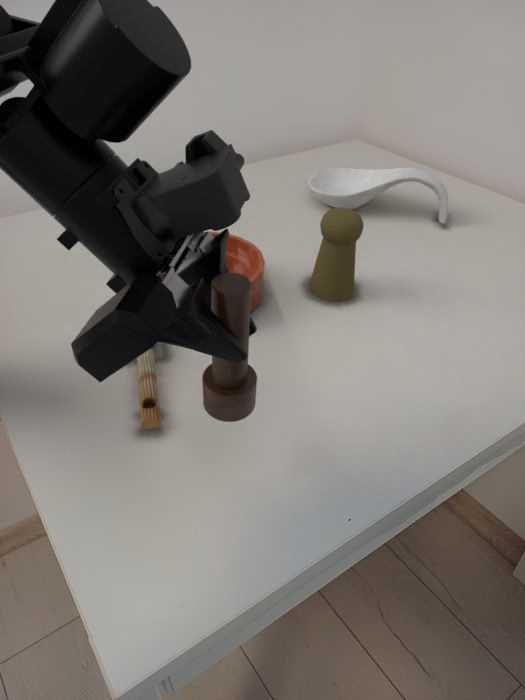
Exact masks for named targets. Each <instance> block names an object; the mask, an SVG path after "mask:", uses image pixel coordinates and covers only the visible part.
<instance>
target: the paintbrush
mask: <svg viewBox="0 0 525 700" xmlns="http://www.w3.org/2000/svg"><path fill="white" fill-rule="evenodd" d="M164 357H165V356H164V349H163V343H161V342H157V343H156V344H155V345H154V346H153V347H152V348H151V349H149V350H148V351H146V352H145V353H143V354H142V355H140V356H139V357H137V358H136V359H134V360H133V361H132V362H137V380H138V395H139V396H138V398H139V413H140V414H139V415H140V416H139V417H140V426H141V428H142V429H144V430H147V431H151V430H156V429H157V428H160V426H161V424H162V418H161V410H160V401H159V399H160V398H159V389H158V379H157V368H156V359H163V358H164Z"/></svg>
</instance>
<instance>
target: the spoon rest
mask: <svg viewBox="0 0 525 700" xmlns="http://www.w3.org/2000/svg"><path fill="white" fill-rule="evenodd" d="M408 182H414V183H419V184H422V185H424V186H426V187H427V188H429V189H431V191H432V192H433V193H434V194H435V195H436V197H437V199H438V202H439V203H438V204H439V209H438V223H440V224H441V225H444V224H446V223H447V219H448V213H449V210H448V209H449V193H448V191H447V188H446V186H445V184H444V183H443V182H442V181H441V180H440V179H439V178H438V177H437V176H436V175H433V174H432V173H430V172H428V171H427V170H424V169H423V170H422V169H419V168H415V167H394V168H378V169H377V168H355V167H354V168H352V167H336V168H335V167H333V168H328V169H324V170H323V169H322V170H320V171H317V172H315V173H313V174H312V175H311V177H309V179H308V183H307V184H308V185H307V186H308V187H309V189H310V192H311V193H312V195H313V196H314V197H315V198H316V199H317V200H319V202H321V203H322V204H325V205H327V206H329V207H331V208H332V209H335V208H346V209H350V210H353V211H354V210H356V209H358V208H360V207H362V206H363V205H365V204H367V203H368V202H370V201H371V200H373V199H374V198H376V197H377V196H379V195H380V194H382V193H383V192H385V191H387V190H389V189H391V188H392V187H395V186H397V185H399V184H402V183H408Z"/></svg>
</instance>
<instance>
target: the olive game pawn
mask: <svg viewBox="0 0 525 700" xmlns="http://www.w3.org/2000/svg"><path fill="white" fill-rule="evenodd" d="M319 225H320V234H321V236H322V239H321V243H320V246H319V250H318V253H317V255H316V256H317V257H316V259H315V263H314V267H313V270H312V274H311V277H310V281H309V284H308V290H309V292H310V293H311V294H312V295H313V297H315V298H316V299H319V300H321V301H324V302H329V303H340V302H345V301H348V300H350V299H351V298H352V297H353V295H354V293H355V277H356V276H355V272H356V252H357V251H356V250H357V241H358V240H359V239H360V238H361V236H362V233H363V232H364V231H363V230H364V220H363V218H362V216H361V215H360V214H359V213H358V212H356V211H355V210H354V209H353V210H350V209H346V208H331V209H329V210H328V211H325V213H324V214H323V215H322V218H321V220H320V224H319Z"/></svg>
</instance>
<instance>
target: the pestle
mask: <svg viewBox="0 0 525 700" xmlns="http://www.w3.org/2000/svg"><path fill="white" fill-rule="evenodd" d="M250 307H251V281H250V280H249V279H248V278H247V277H246V276H244V275H242V274H239V273H223V274H219V275H217V276H216V277H214V278H213V280H212V281H211V310H212V311H213V313H214V314H215V315H216V316H217V317H218V318H219V319H220V321H221V322H222V323H223V324H224V325H225V326H226V327H227V328H228V330H229V331H230V332H231V333H232V334H233V335H234V336H235V338H236V339H237V340H238V341H239V342H240V344H241V345H242V346H243V348H244V349H245V351H246V352H247V353H248V354H249V350H250V349H249V348H250V336H249V328H250V315H251V311H250ZM201 379H202V380H201V381H202V382H201V383H202V405H203V408H204V410H205V412H206V413H207V415H208V416H210V417H211V418H213V419H214V420H217V421H220V422H225V423H233V422H234V423H235V422H238V421H239V422H240V421H241V420H244V419H247V417H249V416H250V415H251V414H252V413H253V412H254V410H255V408H256V402H257V389H258V387H257V386H258V385H257V384H258V375H257V372H256V370H255V369H254V367H252V365H250V364H249V355H248V356H247V359H245V360H244V361H242V362H240V363H234V362H231V361H228V360H224V359H221V358H218V357H215V356H211V363H210V364H209V365H208V366H207V367H206V368H205V369H204V371H203V372H202V377H201Z"/></svg>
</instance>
